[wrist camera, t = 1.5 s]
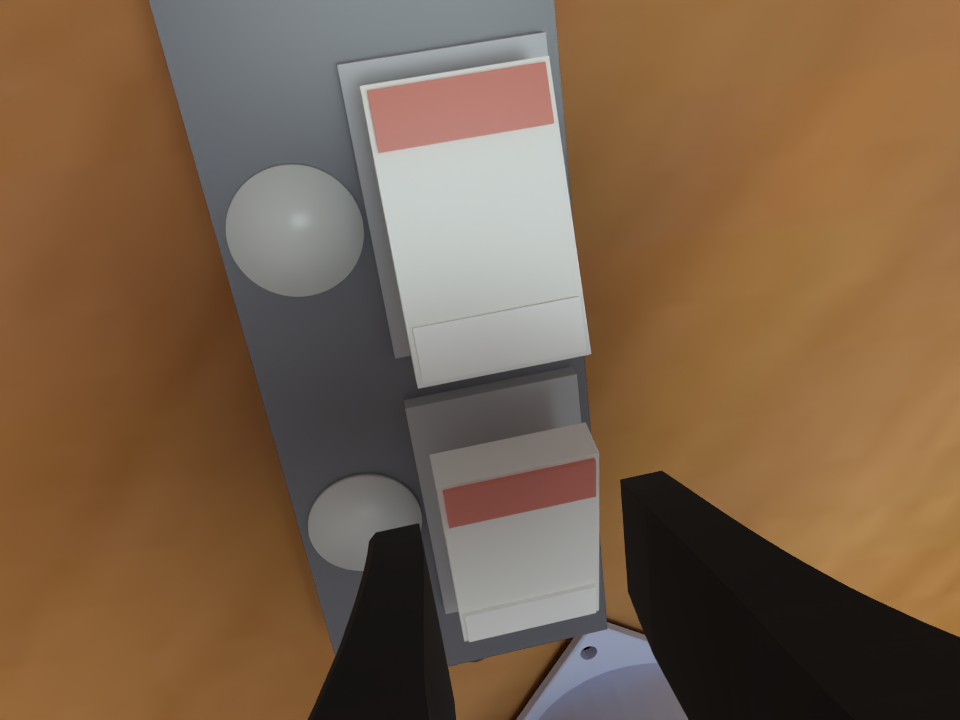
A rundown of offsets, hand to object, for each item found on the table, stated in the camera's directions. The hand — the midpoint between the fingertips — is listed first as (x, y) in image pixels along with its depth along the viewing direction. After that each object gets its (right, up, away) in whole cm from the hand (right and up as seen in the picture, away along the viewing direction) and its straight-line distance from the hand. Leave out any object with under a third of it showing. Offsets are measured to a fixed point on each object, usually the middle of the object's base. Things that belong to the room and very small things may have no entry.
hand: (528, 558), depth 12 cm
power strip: (-2, +4, +8) cm, 9 cm away
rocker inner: (0, -1, +6) cm, 6 cm away
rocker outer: (-1, +5, +3) cm, 6 cm away
